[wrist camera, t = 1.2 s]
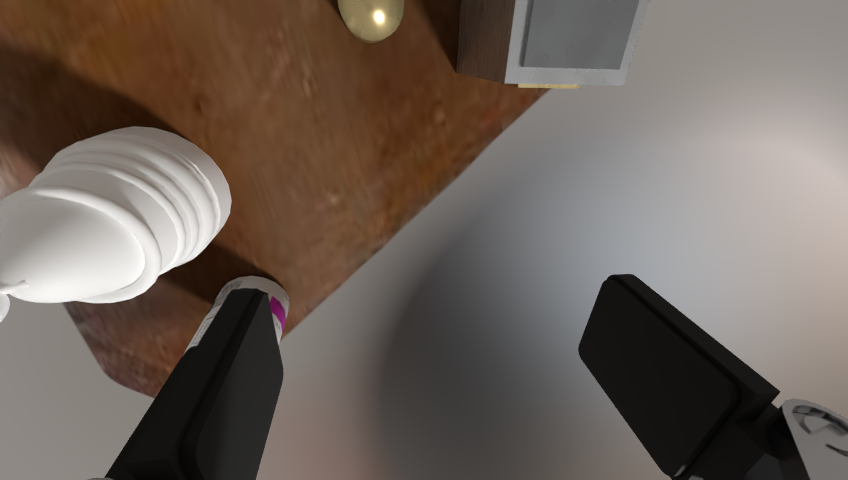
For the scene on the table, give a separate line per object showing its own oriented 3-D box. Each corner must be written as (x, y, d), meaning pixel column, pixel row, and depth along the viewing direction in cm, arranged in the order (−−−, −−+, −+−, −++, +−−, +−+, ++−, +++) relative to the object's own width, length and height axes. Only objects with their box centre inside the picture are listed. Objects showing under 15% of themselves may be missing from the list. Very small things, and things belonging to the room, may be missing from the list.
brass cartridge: (341, -18, 28) (333, -44, 20) (392, -14, 29) (404, -39, 21) (345, 42, 30) (340, 39, 23) (393, 44, 31) (404, 41, 23)
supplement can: (303, 295, 43) (279, 397, 30) (265, 331, 45) (227, 442, 32) (247, 260, 39) (192, 361, 27) (207, 302, 41) (139, 414, 29)
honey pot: (148, 258, 37) (-2, 403, 22) (50, 151, 31) (-263, 251, 15) (254, 222, 37) (180, 342, 22) (180, 107, 31) (-1, 163, 15)
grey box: (461, -14, 30) (526, -56, 18) (553, -8, 31) (666, -43, 20) (455, 77, 33) (505, 90, 22) (537, 79, 35) (625, 92, 23)
